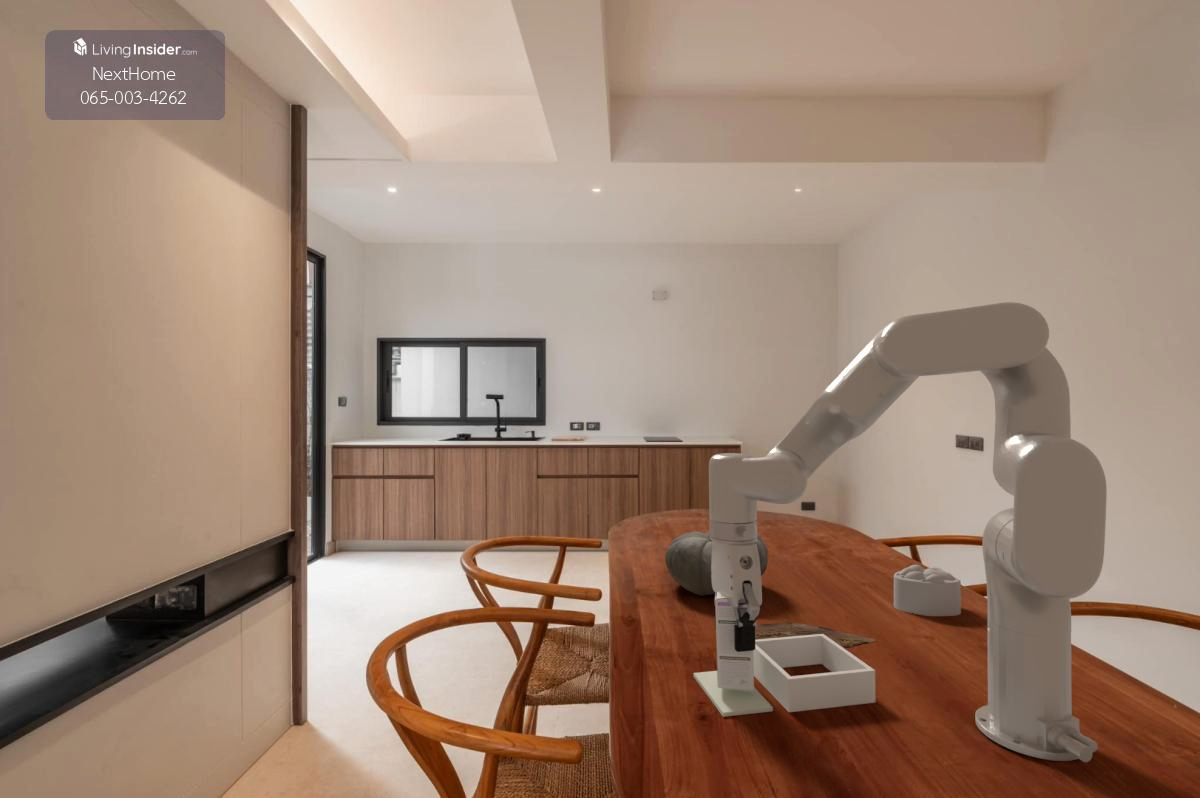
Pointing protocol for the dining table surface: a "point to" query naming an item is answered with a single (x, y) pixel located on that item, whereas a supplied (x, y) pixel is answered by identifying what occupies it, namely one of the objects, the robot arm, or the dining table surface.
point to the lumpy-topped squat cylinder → (927, 592)
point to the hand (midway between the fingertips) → (734, 639)
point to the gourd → (699, 561)
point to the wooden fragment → (807, 633)
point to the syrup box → (731, 650)
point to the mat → (731, 697)
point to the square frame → (812, 691)
